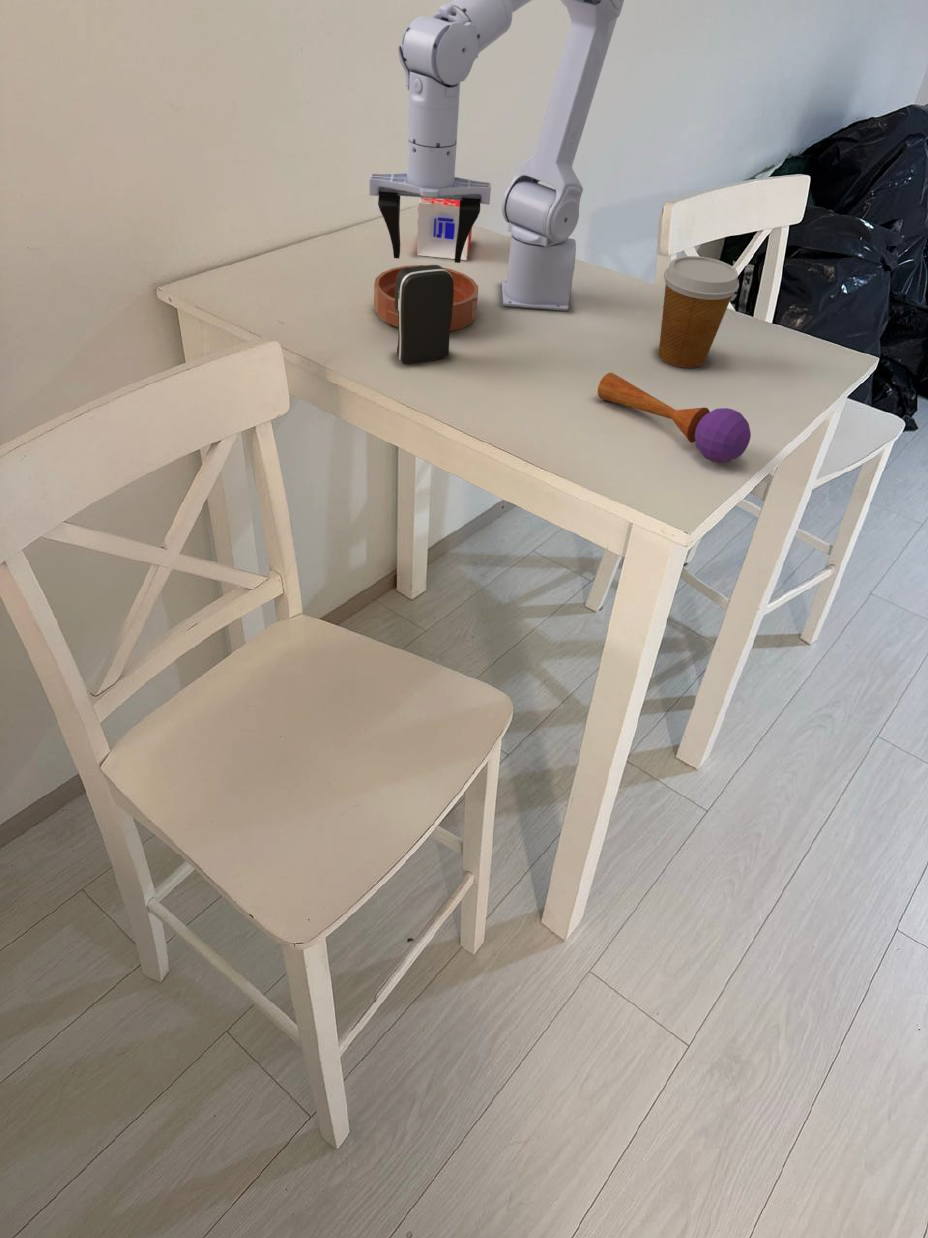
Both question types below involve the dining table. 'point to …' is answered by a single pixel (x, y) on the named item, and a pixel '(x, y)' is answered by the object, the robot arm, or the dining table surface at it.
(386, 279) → the bowl
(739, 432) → the kendama
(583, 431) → the dining table surface
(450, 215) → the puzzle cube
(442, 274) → the battery charger
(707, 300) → the disposable coffee cup
